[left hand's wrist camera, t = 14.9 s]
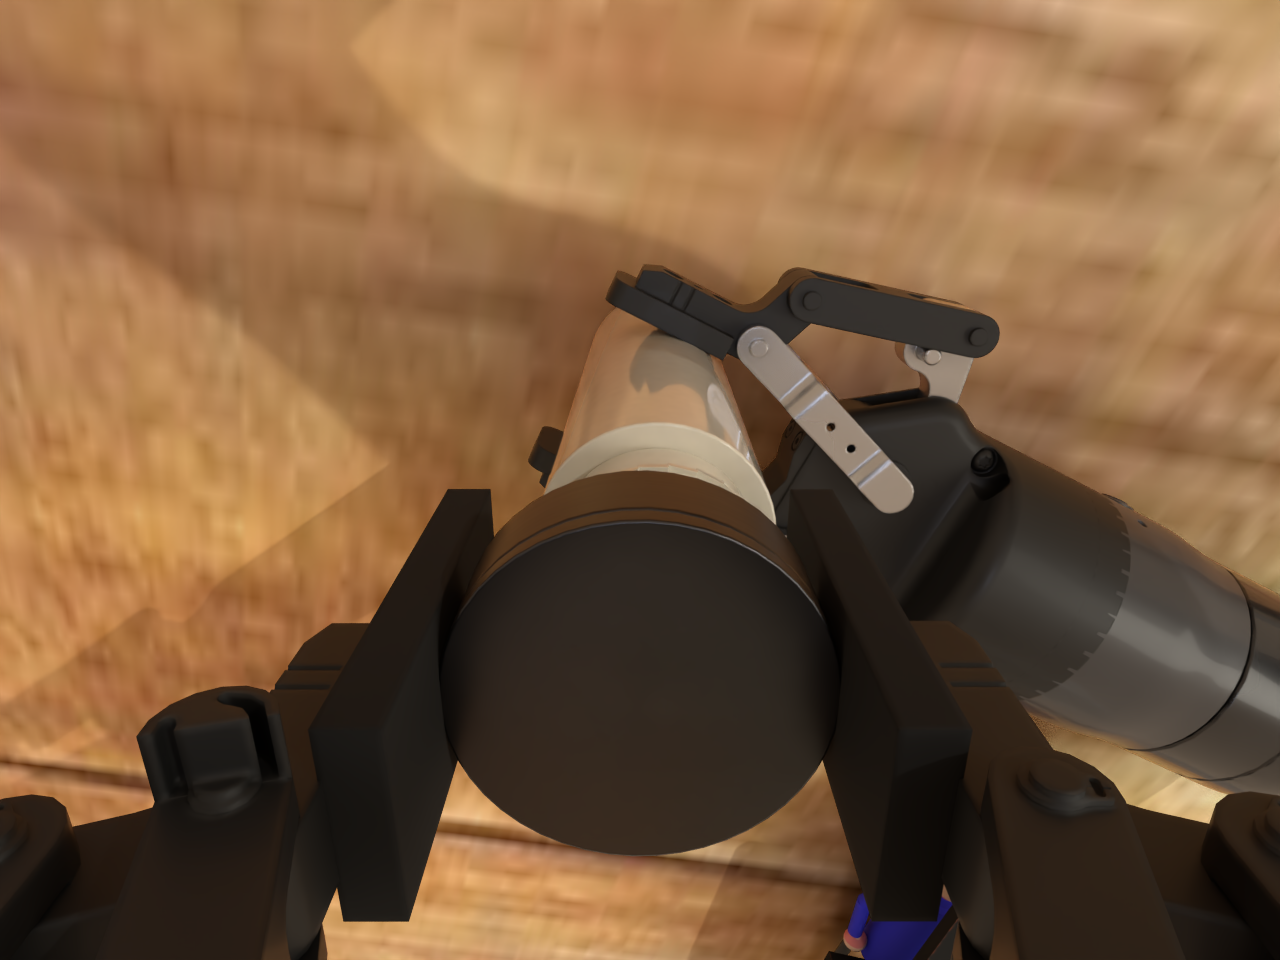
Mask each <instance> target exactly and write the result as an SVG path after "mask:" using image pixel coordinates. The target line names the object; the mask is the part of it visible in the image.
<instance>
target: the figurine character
mask: <svg viewBox="0 0 1280 960" xmlns="http://www.w3.org/2000/svg"><path fill="white" fill-rule="evenodd" d="M868 915H869V911H868V908H867V905H866V901H865V898H864V895H863V893H861V894H860V895H859V896H858V898H857V901H856V904H855V907H854V910H853V914H852V917H851V920H850V923H849V926H848V929H847V930H846V931H845V932H844V936H843V941H842V942H841V943H840V945H839V946H838V948H837V949H836V950H835V952H831V951H829V952H828V954H827V956H826V957H825V959H824V960H951V955H952V950H953V945H954V940H955V935H956V930H957V925H958V920H959V919H958V917H957V914H956V912H955V909H954V907H953V905H952V902H951V900H950V898H949V895H948V893H947V890H946V888H945V886H944V887H943V892H942V897H941V903H940V908H939V913H938V919H937V922H879V921H871V919H870V920H869V922H868V923H867V925H866V926H865V924H866V921H867V918H868ZM851 950H852V951H856V952H858V951H861V953H862V955H863V957H864V959H862V958H858V957H853V956H849V955H848V954H849V952H850V951H851Z"/></svg>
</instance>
